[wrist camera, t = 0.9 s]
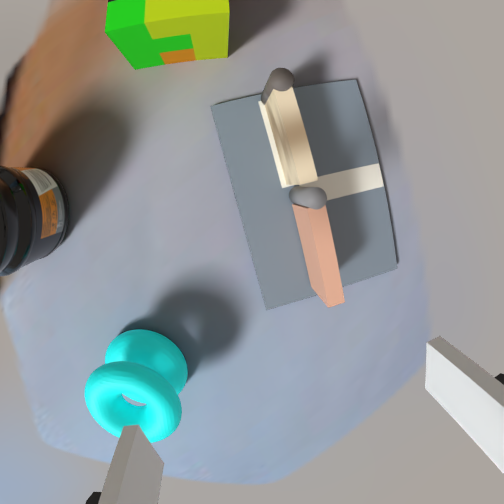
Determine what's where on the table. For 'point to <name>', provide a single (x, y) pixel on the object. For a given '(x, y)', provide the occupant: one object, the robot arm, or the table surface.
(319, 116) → the card
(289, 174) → the rail
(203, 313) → the table surface
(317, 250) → the salmon gate panel
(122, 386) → the donuts
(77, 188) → the table surface
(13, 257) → the supplement container
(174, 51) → the puzzle toy
